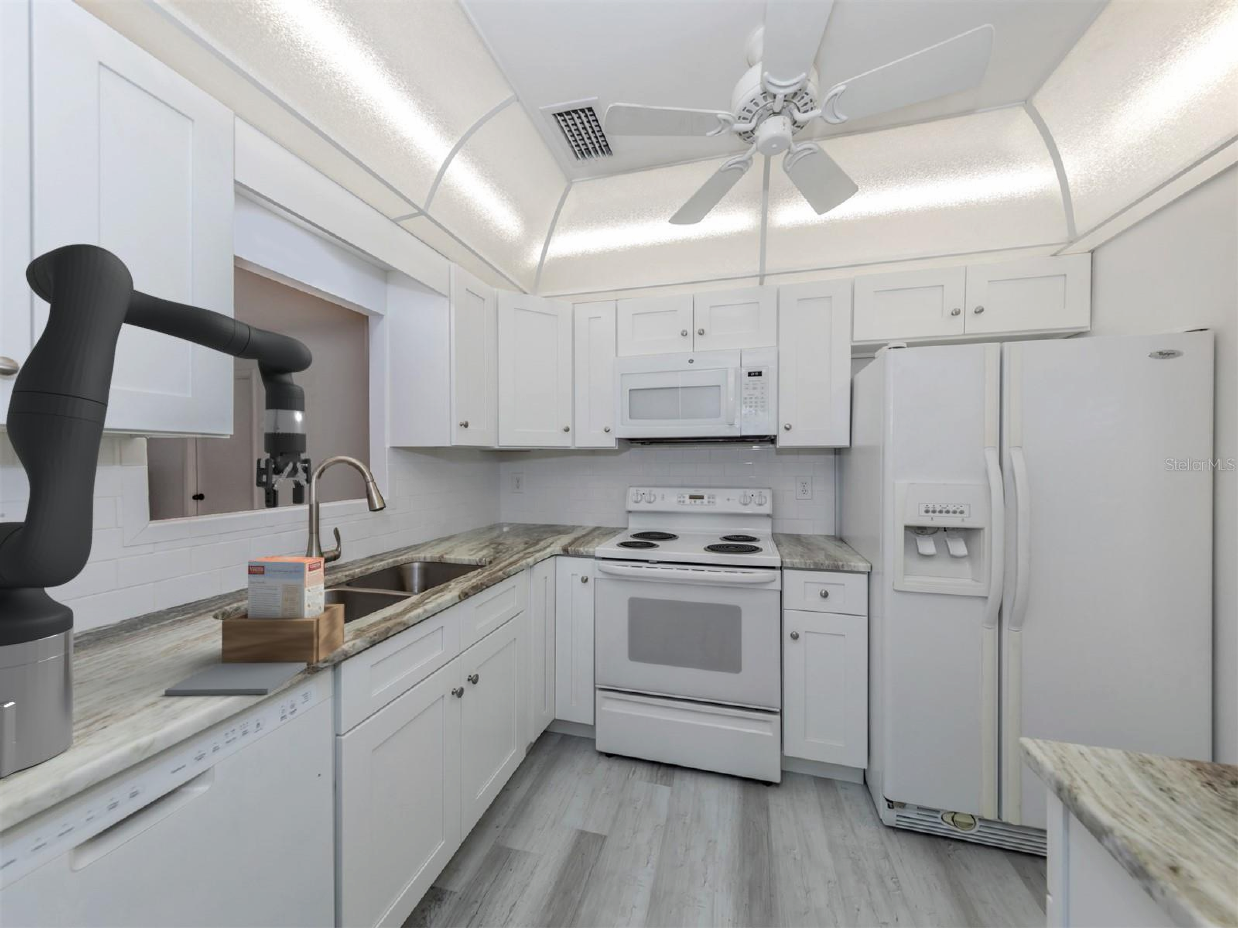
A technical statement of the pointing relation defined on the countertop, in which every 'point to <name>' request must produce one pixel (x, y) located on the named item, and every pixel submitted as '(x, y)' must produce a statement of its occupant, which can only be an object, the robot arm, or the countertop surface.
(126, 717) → the countertop surface
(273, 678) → the pad
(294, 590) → the cracker box
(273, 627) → the crate
